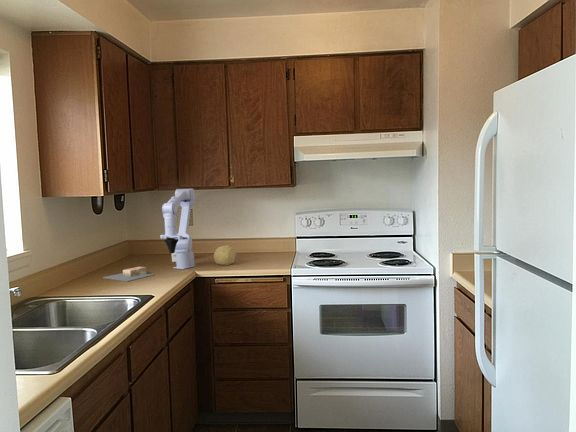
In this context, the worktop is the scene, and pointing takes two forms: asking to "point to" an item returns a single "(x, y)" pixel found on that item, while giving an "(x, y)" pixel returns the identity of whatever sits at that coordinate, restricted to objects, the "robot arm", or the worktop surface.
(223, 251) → the beige lumpy ball
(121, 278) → the mat
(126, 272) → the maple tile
